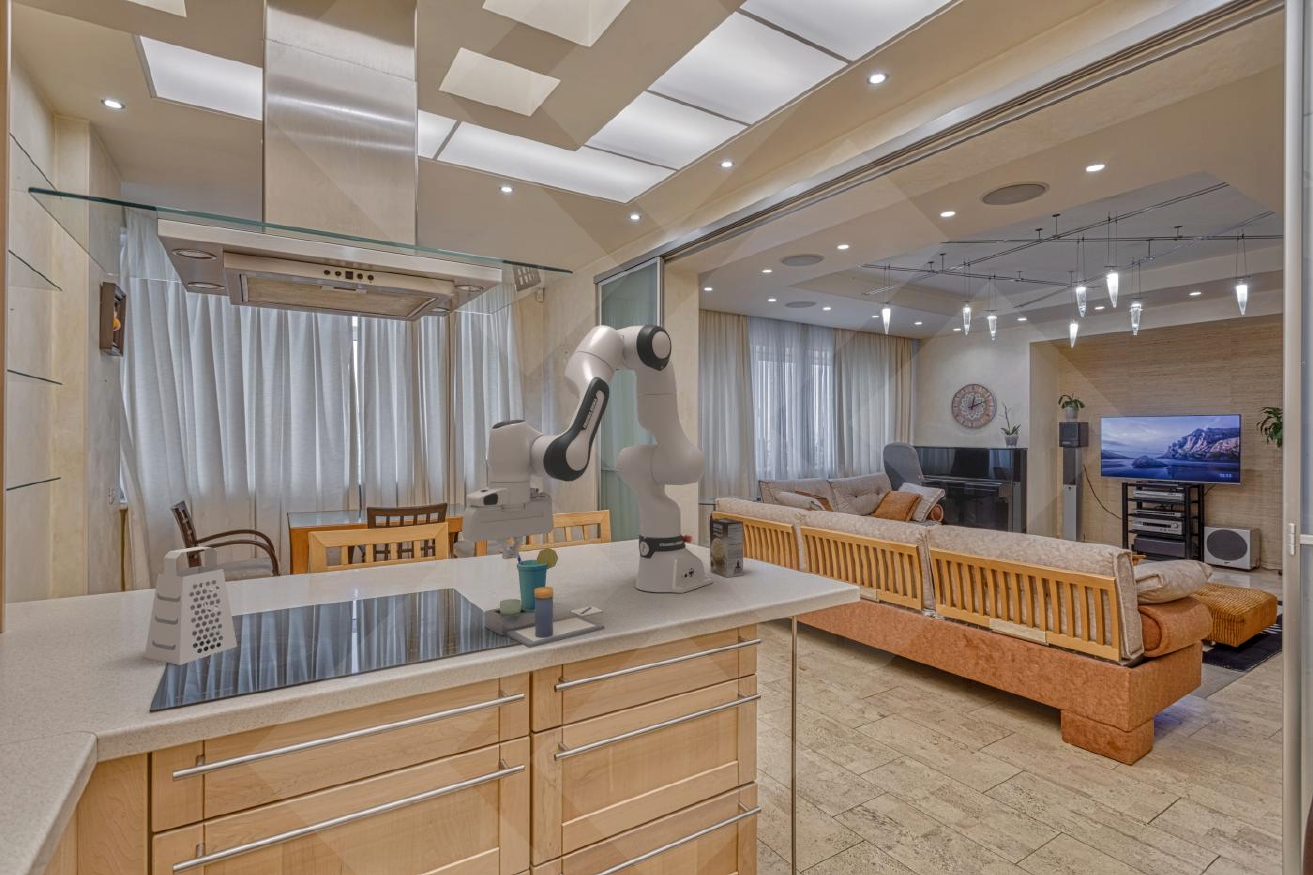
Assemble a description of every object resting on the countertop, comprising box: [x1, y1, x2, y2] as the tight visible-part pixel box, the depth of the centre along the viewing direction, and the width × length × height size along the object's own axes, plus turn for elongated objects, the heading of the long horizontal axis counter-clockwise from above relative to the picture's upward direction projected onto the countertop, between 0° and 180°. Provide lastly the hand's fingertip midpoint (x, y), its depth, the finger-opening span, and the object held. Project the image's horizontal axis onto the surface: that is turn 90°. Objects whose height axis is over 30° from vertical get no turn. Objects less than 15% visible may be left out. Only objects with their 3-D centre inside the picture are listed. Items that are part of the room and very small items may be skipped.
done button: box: [499, 598, 522, 616], centre depth 134 cm, size 4×4×4 cm
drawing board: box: [505, 615, 605, 648], centre depth 131 cm, size 18×10×1 cm, turn 130°
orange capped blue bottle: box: [534, 586, 554, 638], centre depth 127 cm, size 4×4×9 cm
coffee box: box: [709, 517, 744, 578], centre depth 185 cm, size 9×6×16 cm
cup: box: [499, 545, 559, 610], centre depth 150 cm, size 14×8×15 cm, turn 111°
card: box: [569, 605, 604, 617], centre depth 146 cm, size 6×5×1 cm
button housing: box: [484, 605, 535, 636], centre depth 134 cm, size 8×8×4 cm
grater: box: [144, 546, 238, 666], centre depth 120 cm, size 10×10×20 cm
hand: (510, 558), depth 134 cm, fingers closed
